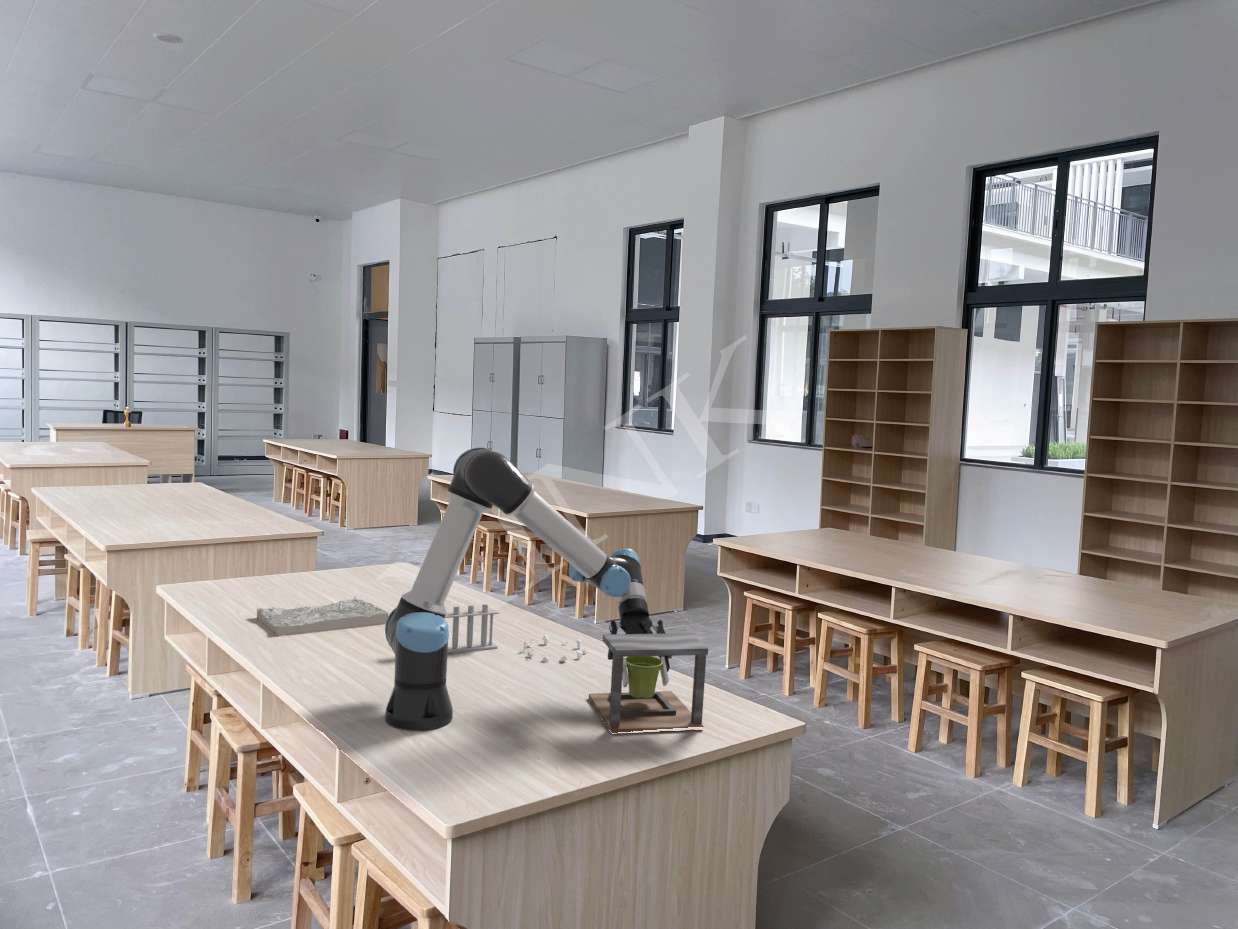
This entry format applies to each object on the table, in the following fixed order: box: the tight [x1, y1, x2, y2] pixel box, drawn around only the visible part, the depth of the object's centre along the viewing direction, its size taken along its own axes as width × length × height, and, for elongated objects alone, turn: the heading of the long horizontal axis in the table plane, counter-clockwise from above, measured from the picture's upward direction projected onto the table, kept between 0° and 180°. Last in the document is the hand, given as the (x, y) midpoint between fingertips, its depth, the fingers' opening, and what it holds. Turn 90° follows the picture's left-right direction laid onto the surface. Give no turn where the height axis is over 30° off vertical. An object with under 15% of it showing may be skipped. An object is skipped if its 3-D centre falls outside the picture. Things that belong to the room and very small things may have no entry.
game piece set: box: [520, 634, 588, 663], centre depth 261 cm, size 19×20×4 cm
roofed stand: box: [588, 632, 709, 733], centre depth 214 cm, size 24×22×20 cm
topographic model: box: [256, 595, 390, 637], centre depth 282 cm, size 23×34×5 cm
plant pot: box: [624, 656, 663, 699], centre depth 218 cm, size 9×9×9 cm
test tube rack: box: [444, 603, 500, 655], centre depth 258 cm, size 25×4×13 cm, turn 120°
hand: (646, 683), depth 215 cm, fingers closed on plant pot, 9 cm apart
